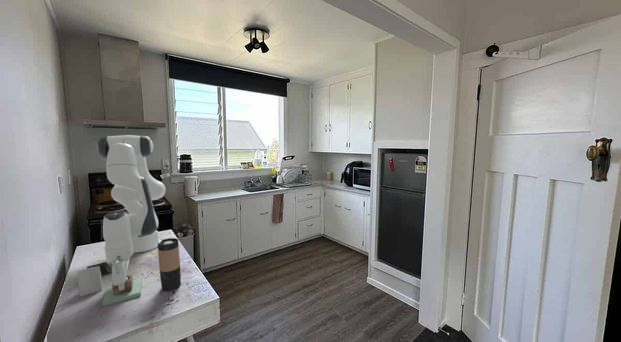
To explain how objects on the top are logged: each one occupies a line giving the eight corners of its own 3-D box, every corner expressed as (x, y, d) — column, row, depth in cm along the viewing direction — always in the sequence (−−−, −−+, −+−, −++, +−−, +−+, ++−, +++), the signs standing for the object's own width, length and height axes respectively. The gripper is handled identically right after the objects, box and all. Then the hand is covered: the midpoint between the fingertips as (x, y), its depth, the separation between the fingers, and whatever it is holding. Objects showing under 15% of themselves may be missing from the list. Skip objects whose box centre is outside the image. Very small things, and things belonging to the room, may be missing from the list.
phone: (106, 261, 128) (111, 271, 117) (106, 263, 128) (111, 274, 118) (86, 267, 122) (89, 278, 112) (86, 269, 122) (89, 280, 112)
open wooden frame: (132, 282, 106) (131, 272, 105) (131, 289, 101) (130, 279, 100) (114, 287, 103) (113, 277, 102) (113, 294, 98) (111, 284, 97)
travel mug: (184, 286, 106) (180, 241, 104) (163, 294, 101) (160, 246, 99) (178, 279, 112) (175, 236, 110) (158, 286, 107) (155, 241, 104)
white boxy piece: (101, 290, 104) (99, 267, 103) (80, 296, 100) (77, 273, 99) (102, 286, 107) (99, 264, 106) (81, 292, 103) (78, 269, 102)
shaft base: (107, 290, 104) (105, 277, 103) (141, 281, 110) (140, 269, 109) (102, 306, 94) (100, 291, 93) (140, 295, 100) (139, 281, 99)
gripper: (127, 260, 93) (130, 295, 94) (131, 242, 110) (133, 271, 112) (105, 264, 90) (109, 300, 91) (113, 245, 107) (116, 275, 108)
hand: (122, 284), depth 102 cm, fingers closed on open wooden frame, 6 cm apart
